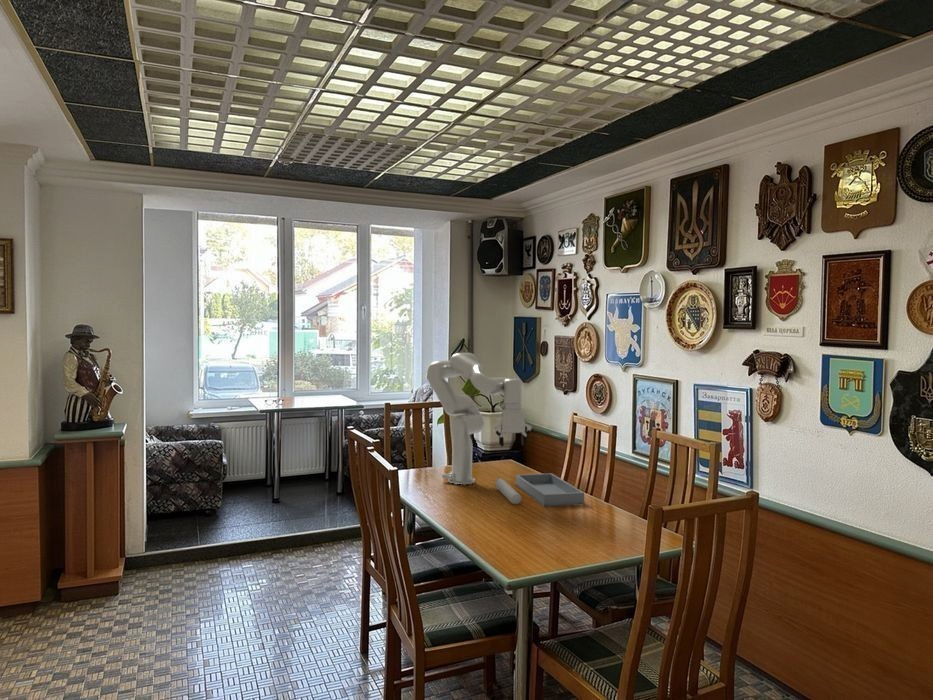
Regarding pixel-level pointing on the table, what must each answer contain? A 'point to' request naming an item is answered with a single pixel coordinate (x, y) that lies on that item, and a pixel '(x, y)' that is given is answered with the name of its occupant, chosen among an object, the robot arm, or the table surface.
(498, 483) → the tube
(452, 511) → the table surface
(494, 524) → the table surface
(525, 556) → the table surface
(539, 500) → the bin
